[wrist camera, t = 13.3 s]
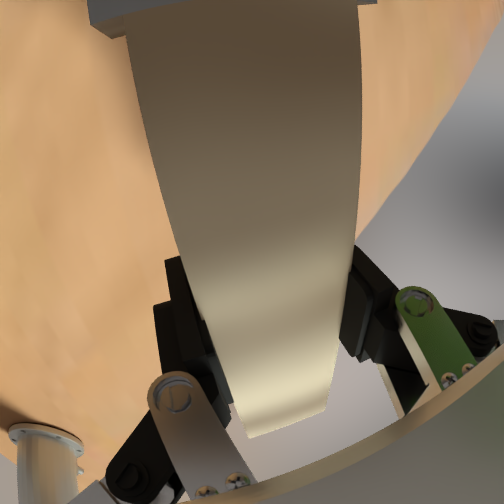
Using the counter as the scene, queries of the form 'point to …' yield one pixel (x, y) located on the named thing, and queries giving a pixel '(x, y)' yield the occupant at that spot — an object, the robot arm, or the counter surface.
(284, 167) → the wooden handle with ferrule
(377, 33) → the counter surface
